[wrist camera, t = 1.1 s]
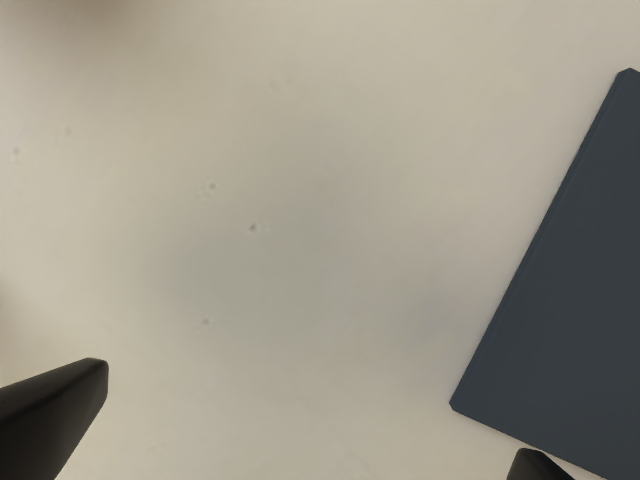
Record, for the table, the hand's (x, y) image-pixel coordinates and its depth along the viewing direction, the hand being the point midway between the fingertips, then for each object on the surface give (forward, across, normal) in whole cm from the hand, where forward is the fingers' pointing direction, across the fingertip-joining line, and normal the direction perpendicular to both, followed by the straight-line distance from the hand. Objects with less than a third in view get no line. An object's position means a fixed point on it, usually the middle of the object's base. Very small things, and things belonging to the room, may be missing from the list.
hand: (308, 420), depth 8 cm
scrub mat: (+14, -17, 0) cm, 22 cm away
